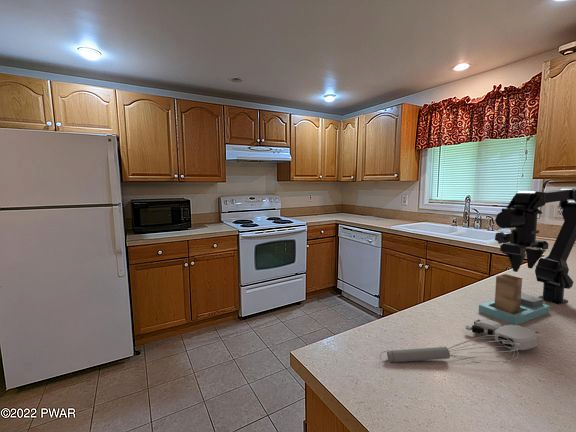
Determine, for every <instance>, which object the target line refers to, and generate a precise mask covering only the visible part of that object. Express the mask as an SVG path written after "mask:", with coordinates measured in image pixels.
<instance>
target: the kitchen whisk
mask: <svg viewBox="0 0 576 432" xmlns="http://www.w3.org/2000/svg"><path fill="white" fill-rule="evenodd" d="M490 336H499V335H488V336H487V337H490ZM487 337H486V336H484V335H482V336H479V337H475V338H471V339H468V340H464V341H463V342H460V343H457V344H455V345H453V346H451V347H447V346H437V347H436V346H435V347H423V348H422V347H421V348H411V349H410V348H408V349H395V350H394V349H393V350H385V351H383V352H381V353H380V355H379V359H380V360H381V361H382V362H383V363H386V361H384V360H383V359H381V356H382V354H383V353H385V352H386V356H387V360H388V362H389V363H392V362H393V363H403V362H406V363H407V362H416V361H417V362H418V361H434V360H445V359H446V360H447V359H448V360H449V359H450V358H455V359H458V360H461V361H468V362H470V359H471V363H472V362H474V363H476V361H477V359H475V358H477V356H470V357H467V356H465V355H459V357H458V355H456V354H451V353H452V351H453V352H458V351H459V349H460V351H465V350H467V348H465V347H469V346H475V345H478V344H479V345H480V344H485V343H487V341H483V342H478V343H473V344H468V345H463V346H460V345H462V344H466V343H469V342H470V343H471V342H474V341H478V340H479V339H480V340H483V339H487ZM502 337H503V336H502ZM504 338H506V337H504ZM496 339H499V338H496ZM507 339H508V338H507ZM508 340H509V339H508ZM508 340H503V339H501V340H498V341H506V342H508ZM509 341H510V340H509ZM491 342H494V340H491V341H488V343H491ZM510 342H511V343H512V341H510ZM510 342H508V343H510ZM511 343H510V344H511ZM513 343H514V342H513ZM514 344H515V343H514ZM511 345H512V346H513V344H511ZM457 346H459V347H457ZM454 347H456V348H454ZM497 347H498V348H507V347H506V346H504V345H499V346H495V345H494V346H492V348H497ZM461 348H462V349H461ZM482 348H484V349H485V348H486V346H480V347H478V349H482ZM511 348H515V345H514V346H513V347H511ZM474 349H475V347H471V348H470V347H469V348H468V350H474ZM515 349H517V350H515ZM515 349H513V350H510V351H509V350H505V351H504V350H503V351H501V350H500V351H499V353H504V352H505V354H502V355H498V356H496V358H499V357H504V356H507V355H509V354H511V353H512V352H513V355H512V357H511V359H509V360H489V362H491V363H492V362H495V363H496V362H498V363H501V362H502V364H504V363H508V362H510V361H515V360H516V359H517V358H519V354H517V357H515V356H516V353H515V352H517V353H519V350H518V348H515ZM506 352H508V353H506ZM483 353H484V354H488V353H493V351H478V352H477V351H475V352H470V354H483ZM514 357H515V358H514ZM481 361H482V362H481ZM483 362H487V360H484V359H483V360H482V359H479V361H477V364H478V363H480V364H483Z"/></svg>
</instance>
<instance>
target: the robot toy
mask: <svg viewBox="0 0 576 432" xmlns="http://www.w3.org/2000/svg"><path fill="white" fill-rule="evenodd" d="M464 327H465V330H467V331H471V333H473V334H474V333H475V334H481V335H482V336H485V337H489V338H494V341H495V342H497V343H498V344H499V345H500V346H506V347H505V348H506V349H509V351H512V350H513V349H515V348H518V350H517V349H515V350H517V351H524V350H525V351H527V350H530V349H533V348H535V347H536V346H537V345H538V344H539V335H538V334H544V332H543V331H534V330H533V329H531V328H528V327H523V326H521V325H519V324H518V325H512V324H507V325H502V324H501V323H499V322H497V321H496V320H494V319H492V318H483V319H481V318H480V319H477V320H474V322H473V324H472V325H465V326H464ZM488 335H499V336H488ZM502 336H503V337H502ZM504 337H506V338H504ZM496 338H499V339H496ZM507 338H508V339H509V340H510V341H512V343H511V342H510V341H509V340H508V339H507ZM501 339H503V340H508V342H510V343H511V344H513V346H514V345H515V348H511V347H513V346H512V345H511V344H510V343H508V342H506V341H498V340H501ZM513 342H514V343H515V344H514V343H513Z"/></svg>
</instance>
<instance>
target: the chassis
mask: <svg viewBox="0 0 576 432" xmlns="http://www.w3.org/2000/svg"><path fill="white" fill-rule="evenodd" d="M538 297H539V296H534V295H531V294H528V293H523V292H521V303H520V313H517V314H514V315H513V314H511V313H508V312H505V311H502V310H499V309H496V308H494V306H495V299H494V300H491V301H487V302H482V303H479V304H478V312H479V313H480V314H484V315H487V316H489V317H491V318H494V319H497V320H499V321H502V322H504V323H506V324H507V323H508V325H518V326H519V325H520V324H522V323H523V324H524V323H525V322H529V321H531V320H534V319H536V318H539V317H543V316H544V315H545V316H546V315H547V314H550V312H551V311H550V309H551V308H550V307H551V306H550V305H549V304H545V303H544V300H543V299H541V298H538Z"/></svg>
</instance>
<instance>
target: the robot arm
mask: <svg viewBox="0 0 576 432" xmlns="http://www.w3.org/2000/svg"><path fill="white" fill-rule="evenodd" d="M555 202H559V203H558V207H560V209H561V210H562V211H561V216H562V217H563V218H562V219H563V223H562V226H561V228H560V230H559V232H558V234H557V237H556V239H555V241H554V243H553V246H552V248H551V249H550V252H549V255H547V256H546V257H542V256H543V254H544V253H545V252H546V251H547V250H549V243H548V242H547V241H546V240H541V239H537V234H539V233H540V229H539V230H538V229H537V228H538V227H537V225H538V215H541V214H543V212H542V211H541V210H540V209H539V208H541V207H543V206H545V205H546V204H548V203H549V204H550V203H555ZM495 224H496V225H497V227H499V228H501V229H511V228H513V229H511V231H510V233H504V232H503V231H501V232H500V231H499V232H496V233H495V237H494V241H496V242H498V245H500V246H499V251H500V252H502V253H503V254H504V255H506V256H507V257H508V259H509V262H510V265H511V268H512V271H513V272H515V273H518V272H519V270H520V268H521V266H522V264H523V261H524V259H525V258H526V263H527V268H528V269H533V268H534V267H535V269H534V273H535V278H536V282H540V283H543V286H542V295H539V296H537V297H538V298H541V299H543V301H546V302H549V303H552V304H557V305H562V304H564V303H567V302H568V301H569V300H568V299H565V298H564V297H565V289H568V290H569V289H571V288H572V287H573V285H574V280H573V279H572V277H570V275H569V271H570V269H569V266H568V263H567V261H568V258H569V257H570V254H571V252H572V249H573V248H574V245H575V242H576V188H561V189H555V190H554V189H553V190H547V191H532V190H531V191H528V190H527V191H523V190H522V191H521V190H520V191H517V192H515V195H514V196H513V197H512V199H511V200H510V202H509V203H508V205H507V206H506V207H504V208H501V211H500V212H498V213H497V215H496V216H495Z"/></svg>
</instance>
